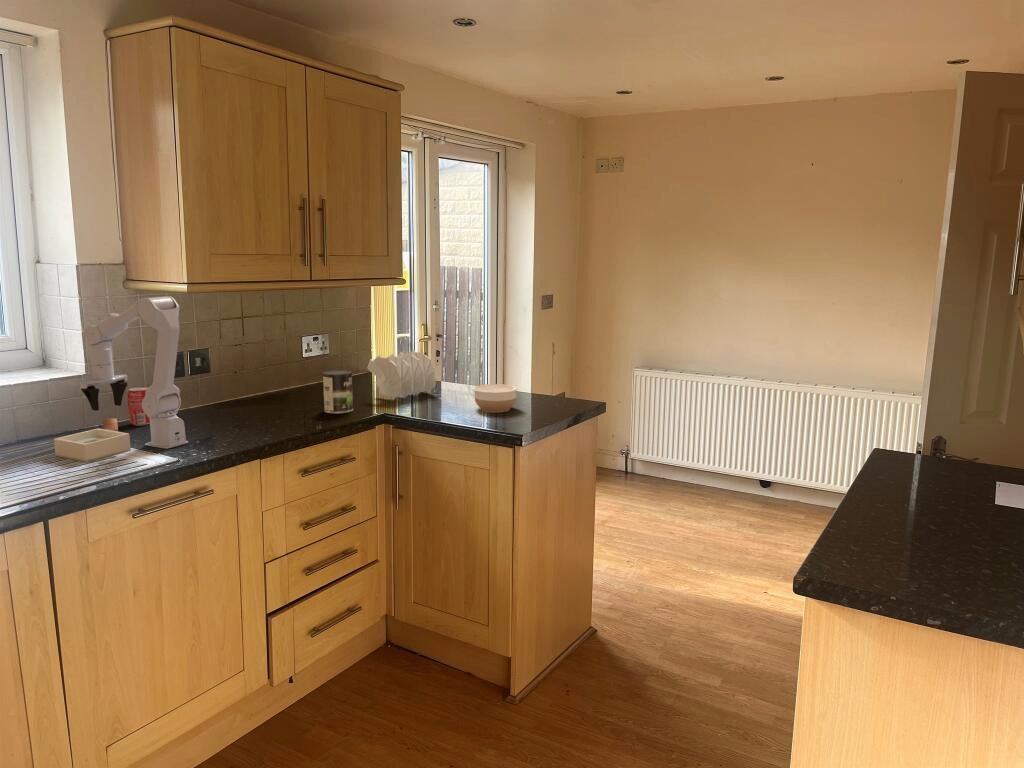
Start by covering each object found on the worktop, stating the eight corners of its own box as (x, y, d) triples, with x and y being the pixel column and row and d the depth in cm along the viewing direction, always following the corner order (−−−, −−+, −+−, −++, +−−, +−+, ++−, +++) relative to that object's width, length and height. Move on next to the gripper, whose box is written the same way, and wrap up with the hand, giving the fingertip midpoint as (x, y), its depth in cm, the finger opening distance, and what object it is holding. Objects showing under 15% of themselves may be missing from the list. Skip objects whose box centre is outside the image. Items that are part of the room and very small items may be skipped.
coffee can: (357, 408, 277) (356, 370, 275) (346, 414, 267) (344, 375, 265) (331, 406, 279) (330, 369, 277) (319, 413, 269) (317, 373, 267)
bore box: (130, 450, 221) (129, 433, 220) (87, 462, 209) (85, 444, 208) (99, 444, 227) (98, 428, 226) (55, 455, 215) (53, 438, 214)
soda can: (147, 420, 257) (144, 385, 255) (157, 423, 253) (154, 388, 250) (126, 424, 252) (122, 388, 249) (135, 427, 247) (132, 391, 245)
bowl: (488, 402, 288) (488, 382, 286) (525, 407, 280) (525, 386, 278) (464, 410, 274) (464, 389, 273) (502, 416, 266) (502, 394, 265)
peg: (121, 437, 235) (119, 419, 234) (109, 440, 231) (108, 421, 230) (113, 436, 236) (111, 417, 235) (101, 439, 233) (99, 420, 232)
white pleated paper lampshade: (433, 402, 306) (388, 410, 286) (406, 379, 314) (360, 385, 295) (449, 364, 299) (403, 369, 279) (420, 341, 307) (374, 345, 288)
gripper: (115, 359, 239) (119, 402, 242) (71, 366, 226) (76, 411, 229) (130, 361, 236) (134, 404, 239) (86, 368, 223) (91, 413, 226)
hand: (106, 407), depth 234 cm, fingers open, 7 cm apart
